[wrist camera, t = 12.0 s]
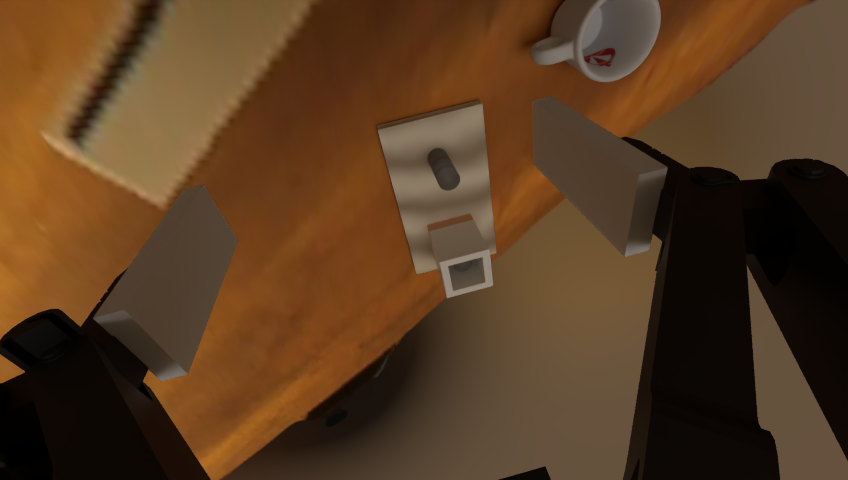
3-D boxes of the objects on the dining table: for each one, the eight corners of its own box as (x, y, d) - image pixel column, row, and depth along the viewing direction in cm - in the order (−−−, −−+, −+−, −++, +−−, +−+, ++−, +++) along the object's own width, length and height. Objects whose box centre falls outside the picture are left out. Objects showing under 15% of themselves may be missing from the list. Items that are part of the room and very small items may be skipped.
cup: (521, 85, 43) (552, 106, 37) (509, 8, 38) (543, 16, 32) (611, 50, 43) (659, 64, 36) (611, -32, 38) (665, -33, 32)
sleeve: (426, 225, 50) (439, 262, 44) (470, 213, 50) (489, 249, 44) (434, 258, 54) (447, 297, 47) (475, 247, 54) (493, 285, 48)
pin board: (376, 125, 43) (382, 151, 37) (478, 99, 43) (500, 121, 37) (415, 267, 56) (424, 303, 50) (492, 247, 57) (511, 280, 51)
